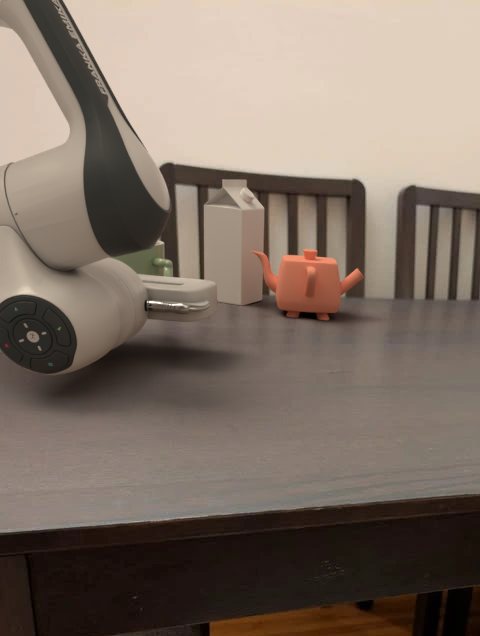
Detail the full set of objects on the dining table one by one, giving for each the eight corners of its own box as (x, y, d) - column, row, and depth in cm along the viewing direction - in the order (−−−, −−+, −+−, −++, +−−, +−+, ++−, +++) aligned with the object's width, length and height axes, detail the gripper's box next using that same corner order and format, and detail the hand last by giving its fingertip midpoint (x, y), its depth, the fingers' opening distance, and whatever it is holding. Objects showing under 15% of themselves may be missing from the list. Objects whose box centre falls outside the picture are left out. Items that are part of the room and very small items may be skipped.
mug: (73, 315, 103) (67, 237, 98) (139, 306, 112) (136, 233, 108) (139, 333, 97) (135, 250, 92) (203, 321, 106) (202, 245, 102)
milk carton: (203, 300, 121) (203, 177, 113) (226, 295, 127) (227, 177, 119) (241, 307, 119) (242, 181, 111) (262, 301, 125) (265, 181, 117)
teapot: (315, 304, 126) (318, 243, 122) (364, 317, 119) (369, 253, 114) (249, 311, 116) (250, 245, 112) (298, 326, 109) (301, 256, 105)
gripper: (202, 280, 74) (230, 262, 87) (2, 262, 74) (60, 248, 87) (202, 341, 76) (230, 316, 89) (9, 324, 77) (64, 301, 89)
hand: (144, 282), depth 88 cm, fingers closed
